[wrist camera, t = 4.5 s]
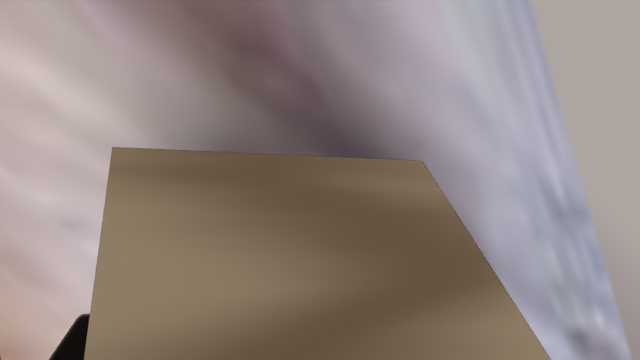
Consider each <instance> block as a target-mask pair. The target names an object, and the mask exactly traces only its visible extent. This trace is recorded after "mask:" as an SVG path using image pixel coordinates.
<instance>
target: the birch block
mask: <svg viewBox="0 0 640 360" xmlns="http://www.w3.org/2000/svg"><path fill="white" fill-rule="evenodd" d="M84 360H551V358H550V357H549V355H548V354H547V352H546V351H545V349H544V348H543V346H542V345H541V343H540V341H539V340H538V338H537V337H536V335H535V334H534V332H533V331H532V329H531V328H530V326H529V324H528V323H527V321H526V320H525V318H524V317H523V315H522V314H521V312H520V311H519V309H518V308H517V306H516V304H515V303H514V301H513V300H512V298H511V297H510V295H509V294H508V292H507V291H506V289H505V287H504V286H503V284H502V283H501V281H500V280H499V278H498V277H497V275H496V274H495V272H494V270H493V269H492V267H491V266H490V264H489V263H488V261H487V260H486V258H485V257H484V255H483V254H482V252H481V250H480V249H479V247H478V246H477V244H476V243H475V241H474V240H473V238H472V237H471V235H470V233H469V232H468V230H467V229H466V227H465V226H464V224H463V223H462V221H461V220H460V218H459V216H458V215H457V213H456V212H455V210H454V209H453V207H452V206H451V204H450V203H449V201H448V200H447V198H446V196H445V195H444V193H443V192H442V190H441V189H440V187H439V186H438V184H437V183H436V181H435V179H434V178H433V176H432V175H431V173H430V172H429V170H428V169H427V167H426V166H425V164H424V163H423V161H415V160H392V159H369V158H347V157H324V156H301V155H279V154H256V153H234V152H211V151H188V150H166V149H143V148H120V147H112V154H111V161H110V169H109V176H108V183H107V191H106V198H105V206H104V213H103V221H102V228H101V236H100V243H99V251H98V258H97V265H96V273H95V280H94V288H93V295H92V303H91V310H90V318H89V325H88V332H87V340H86V347H85V355H84Z"/></svg>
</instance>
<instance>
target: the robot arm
mask: <svg viewBox="0 0 640 360" xmlns="http://www.w3.org/2000/svg"><path fill="white" fill-rule="evenodd" d="M89 318H90V314H82V315H80V316H79V317H78V318H77V319H76V321H75V322H74V324H73V325H72V326H71V328H70V329H69V331H68V332H67V334H66V335H65V337H64V338H63V340H62V341H61V343H60V344H59V346H58V347H57V349H56V350H55V352H54V353H53V354H52V356H51V357H50V359H49V360H84V355H85V347H86V340H87V332H88V325H89Z"/></svg>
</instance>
